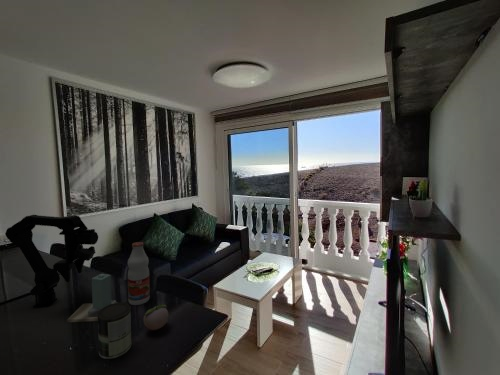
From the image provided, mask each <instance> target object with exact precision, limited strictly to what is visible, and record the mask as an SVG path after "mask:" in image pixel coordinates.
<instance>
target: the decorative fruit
mask: <svg viewBox="0 0 500 375" xmlns="http://www.w3.org/2000/svg"><path fill="white" fill-rule="evenodd" d="M167 307H168V306H167V305H166V304H160V305H155V306H153V308H149V309H148V310H147V311H145V313H144V316H143V324H144V326H145V327H146V328H147V329H148V330H150V331H157V330H159V329H161V328H163V327H164V326H165V325H166V323H167V322H168V319H169V311H168V310H167Z"/></svg>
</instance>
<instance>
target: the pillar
mask: <svg viewBox="0 0 500 375" xmlns="http://www.w3.org/2000/svg"><path fill="white" fill-rule="evenodd" d="M91 296H92V297H91V298H92V301H91V302H92V303H93V308H95V309H102V308H104V307H105V306H108V305H110V304H112V301H113V300H112V298H113V297H112V277H111V274H106V273H100V274H98V275H96V276H94V277H92V278H91Z"/></svg>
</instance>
